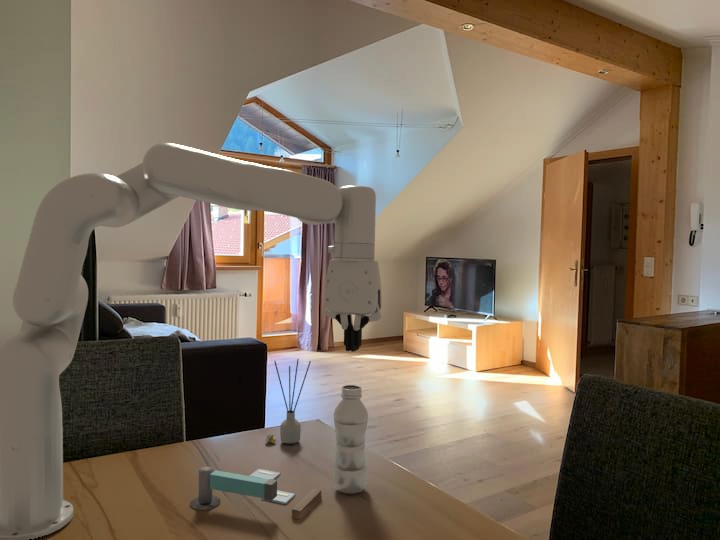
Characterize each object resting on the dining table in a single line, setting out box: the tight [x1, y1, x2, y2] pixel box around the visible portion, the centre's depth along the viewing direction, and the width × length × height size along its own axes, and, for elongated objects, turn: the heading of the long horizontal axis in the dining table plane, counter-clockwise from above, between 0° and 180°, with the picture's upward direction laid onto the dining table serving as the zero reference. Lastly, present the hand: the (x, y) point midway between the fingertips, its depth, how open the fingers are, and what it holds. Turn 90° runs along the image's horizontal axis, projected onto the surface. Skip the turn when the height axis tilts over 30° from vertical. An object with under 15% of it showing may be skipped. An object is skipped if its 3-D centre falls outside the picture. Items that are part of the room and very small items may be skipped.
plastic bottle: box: [332, 384, 369, 495], centre depth 104 cm, size 6×7×20 cm
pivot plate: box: [190, 495, 221, 511], centre depth 98 cm, size 5×5×1 cm
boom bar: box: [197, 466, 278, 504], centre depth 96 cm, size 15×2×6 cm, turn 72°
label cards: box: [249, 468, 296, 505], centre depth 106 cm, size 12×11×1 cm
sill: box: [291, 488, 322, 520], centre depth 98 cm, size 2×8×2 cm, turn 159°
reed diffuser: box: [265, 358, 311, 444], centre depth 127 cm, size 10×7×20 cm
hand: (352, 349), depth 103 cm, fingers closed
